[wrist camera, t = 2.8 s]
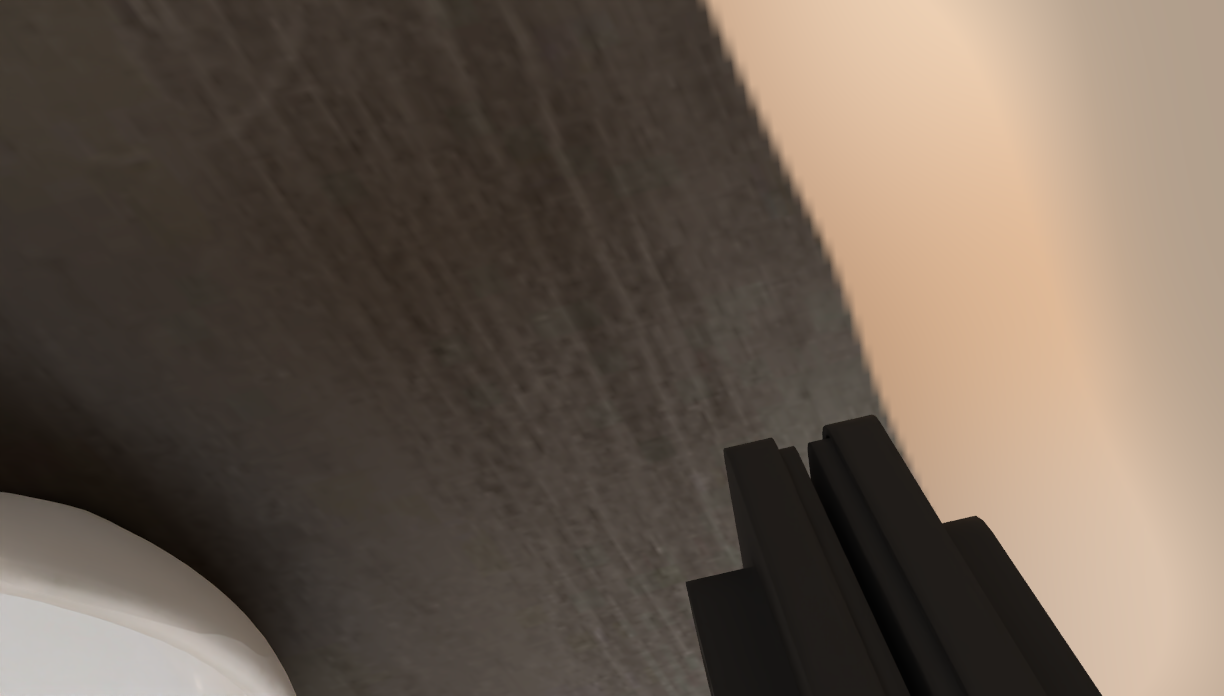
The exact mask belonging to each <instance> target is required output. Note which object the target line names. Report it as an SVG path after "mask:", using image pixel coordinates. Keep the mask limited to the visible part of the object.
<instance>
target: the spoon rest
mask: <svg viewBox="0 0 1224 696" xmlns="http://www.w3.org/2000/svg"><path fill="white" fill-rule="evenodd" d="M0 696H296V693H295V691H294V689H293V687H292V684H291V682H290V680H289V678H288V675H287V673H286V672H285V670H284V668H283V666H282V665H281V663H280V661H279V659H278V658H277V656H276V654H275V653H274V651H273V650H272V648H271V646H270V645H269V643H268V642H267V640H266V639H265V637H264V636H263V635H262V634H261V633H260V631H259V630H258V629H257V628H256V627H255V625H254V624H253V623H252V622H251V621H250V619H249V618H248V617H247V616H246V615H245V614H244V613H243V612H242V611H241V610H240V609H239V608H238V607H237V606H236V605H235V604H234V603H233V602H232V601H231V600H230V599H229V598H228V597H227V596H226V595H225V594H224V593H222V592H221V591H220V590H219V589H218V588H217V587H215V586H214V585H213V584H212V583H210V582H209V581H208V580H206V579H205V578H204V577H203V576H201V575H200V574H199V573H197V572H196V571H195V570H193V569H192V568H191V567H189V566H188V565H186V564H185V563H183V562H182V561H180V560H179V559H177V558H176V557H174V556H172V555H171V554H169V553H167V552H166V551H164V550H162V549H161V548H159V547H157V546H156V545H154V544H152V543H151V542H149V541H147V540H145V539H143V538H141V537H139V536H137V535H135V534H133V533H131V532H129V531H127V530H125V529H123V528H122V527H119V526H118V525H116V524H114V523H112V522H110V521H108V520H106V519H104V518H101V517H99V516H97V515H95V514H93V513H90V512H88V511H86V510H83V509H79V508H76V507H72V506H68V505H64V504H60V503H56V502H51V501H47V500H42V499H37V498H32V497H27V496H22V495H17V494H12V493H4V492H0Z"/></svg>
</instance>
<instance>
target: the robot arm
mask: <svg viewBox="0 0 1224 696" xmlns="http://www.w3.org/2000/svg"><path fill="white" fill-rule="evenodd" d="M822 435H823V440H818V441H814V442H810V443H808V458H809V467H810V475H811V479H810V477H809V475H808V473H807V471H806V469H805V466H804V464H803V462H802V460H801V458H800V456H799V453H798V451H797V450H796V448H795V447H794V446H792V447H788V448H783V449H779V450H778V447H777V445H776V443H775V441H774V439H772V438H768V439H764V440H759V441H755V442H750V443H746V444H742V445H737V446H733V447H729V448H724V458H725V465H726V470H727V476H728V482H729V488H730V493H731V499H732V505H733V511H734V516H735V522H736V528H737V533H738V539H739V545H740V551H741V556H742V562H743V568H744V569H740V570H736V571H731V572H727V573H723V574H718V575H714V576H710V577H705V578H701V579H696V580H692V581H688V582H686V587H687V591H688V596H689V601H690V605H691V610H692V614H693V619H694V623H695V628H696V632H697V637H698V641H699V646H700V650H701V654H702V659H703V663H704V667H705V671H706V676H707V680H708V684H709V688H710V693H711V696H1102V695H1101V693H1100V692H1099V690H1098V689H1097V687H1096V686H1095V684H1094V683H1093V681H1092V680H1091V678H1090V677H1089V675H1088V674H1087V672H1086V671H1085V669H1084V668H1083V666H1082V665H1081V663H1080V662H1079V660H1078V659H1077V658H1076V656H1075V655H1074V653H1073V652H1072V650H1071V649H1070V647H1069V646H1068V644H1067V643H1066V641H1065V640H1064V638H1063V637H1062V635H1061V634H1060V632H1059V631H1058V629H1057V628H1056V626H1055V625H1054V623H1053V622H1052V620H1051V619H1050V617H1049V616H1048V614H1047V613H1046V611H1045V610H1044V608H1043V607H1042V605H1041V604H1040V602H1039V601H1038V599H1037V598H1036V596H1035V595H1034V593H1033V592H1032V590H1031V589H1030V587H1029V586H1028V584H1027V583H1026V582H1025V580H1024V579H1023V577H1022V576H1021V574H1020V573H1019V571H1018V570H1017V568H1016V567H1015V565H1014V564H1013V562H1012V561H1011V559H1010V558H1009V556H1008V555H1007V553H1006V552H1005V550H1004V549H1003V547H1002V546H1001V544H1000V543H999V541H998V540H997V538H996V537H995V535H994V534H993V532H992V531H991V530H990V528H989V527H988V526H987V525H986V524H985V522H984V521H983V520H982V519H980V518H978V517H977V516H972V517H968V518H964V519H959V520H955V521H950V522H946V523H941V521H940V519H939V518H938V516H937V515H936V513H935V511H934V510H933V508H932V506H931V505H930V503H929V501H928V500H927V498H926V497H925V495H924V493H923V492H922V490H921V488H920V487H919V485H918V483H917V482H916V480H915V479H914V477H913V475H912V474H911V472H910V470H909V469H908V467H907V465H906V464H905V462H904V461H903V459H902V457H901V456H900V454H899V452H898V451H897V449H896V447H895V446H894V444H893V443H892V441H891V439H890V438H889V436H888V434H887V433H886V431H885V429H884V428H883V426H882V425H881V423H880V421H879V420H878V419H877V417H876V416H874V415H868V416H864V417H860V418H855V419H851V420H846V421H842V422H838V423H833V424H829V425H825V426H824V427H823V432H822Z"/></svg>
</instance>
